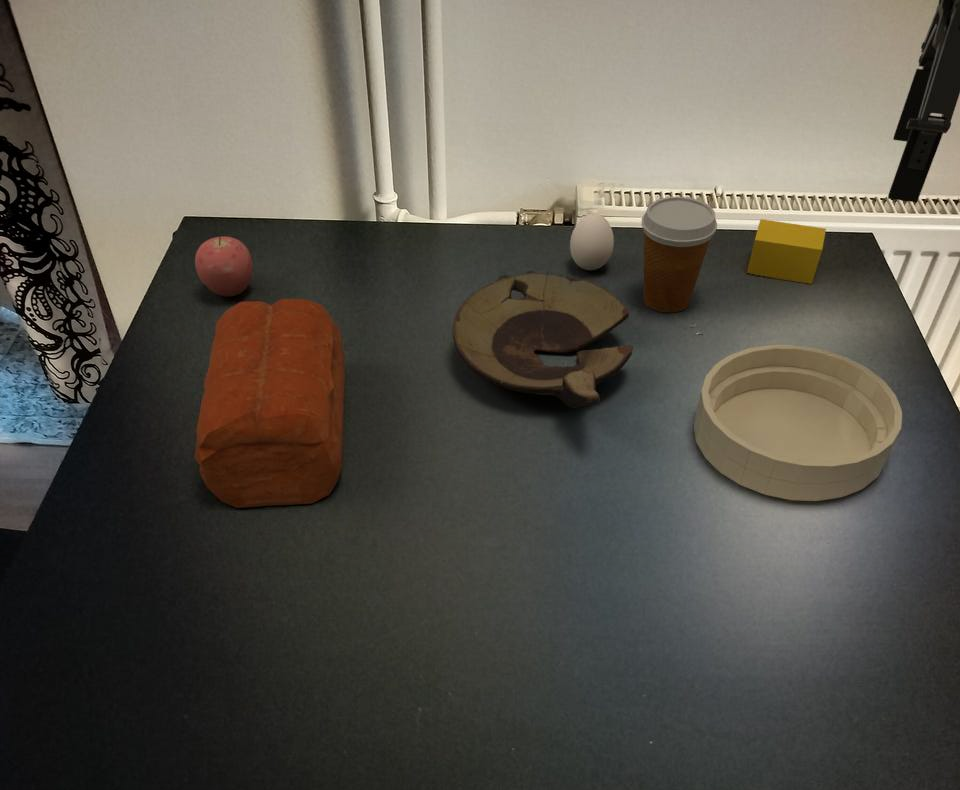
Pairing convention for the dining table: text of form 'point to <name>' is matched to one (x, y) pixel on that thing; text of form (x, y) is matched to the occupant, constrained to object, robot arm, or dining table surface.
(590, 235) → the egg
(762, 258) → the sponge
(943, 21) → the robot arm
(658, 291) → the disposable coffee cup
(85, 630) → the dining table surface
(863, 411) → the bowl
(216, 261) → the apple
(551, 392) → the broken ceramic plate
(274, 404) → the bread
